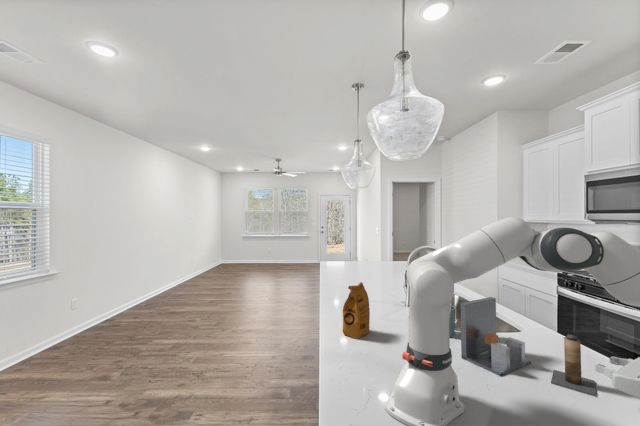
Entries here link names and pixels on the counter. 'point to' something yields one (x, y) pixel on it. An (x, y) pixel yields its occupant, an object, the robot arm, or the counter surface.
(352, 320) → the coffee package
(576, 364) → the brown bottle
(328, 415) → the counter surface
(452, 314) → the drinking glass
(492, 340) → the breaker toggle
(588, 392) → the bar
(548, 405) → the counter surface
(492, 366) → the grey l-shaped stand
